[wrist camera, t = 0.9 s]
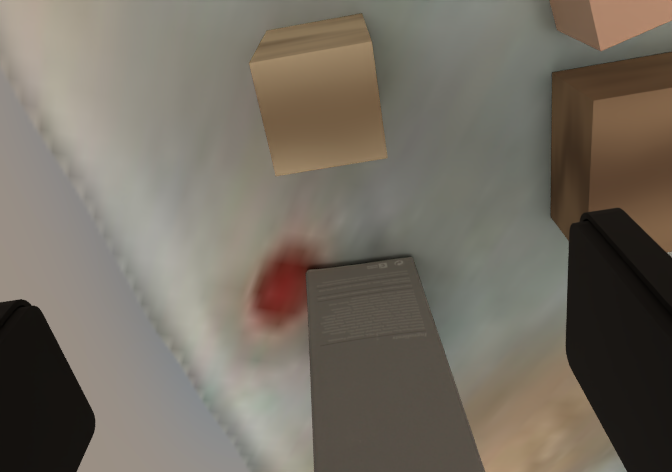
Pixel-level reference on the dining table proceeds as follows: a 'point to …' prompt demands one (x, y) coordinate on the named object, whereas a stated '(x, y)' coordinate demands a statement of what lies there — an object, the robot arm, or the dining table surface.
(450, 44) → the dining table surface
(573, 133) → the walnut block
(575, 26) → the terracotta cube
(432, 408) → the skincare box
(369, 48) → the oak block
